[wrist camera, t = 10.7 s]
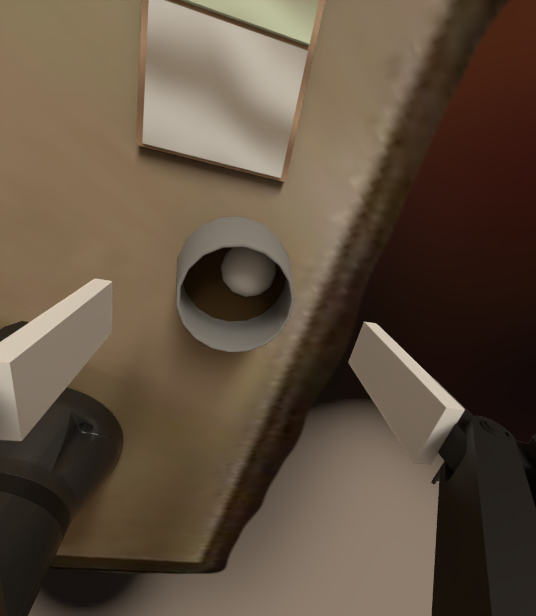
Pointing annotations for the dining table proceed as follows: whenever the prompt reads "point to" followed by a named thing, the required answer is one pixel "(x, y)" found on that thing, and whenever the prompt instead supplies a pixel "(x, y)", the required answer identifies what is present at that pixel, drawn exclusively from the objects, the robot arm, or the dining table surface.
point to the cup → (234, 284)
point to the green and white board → (226, 79)
